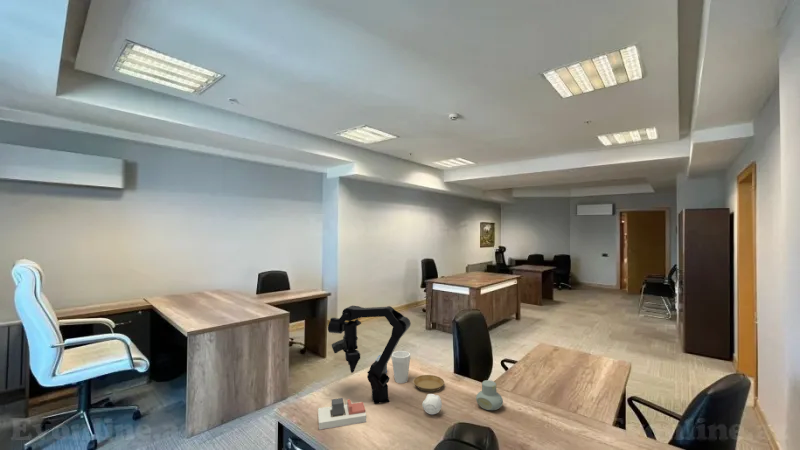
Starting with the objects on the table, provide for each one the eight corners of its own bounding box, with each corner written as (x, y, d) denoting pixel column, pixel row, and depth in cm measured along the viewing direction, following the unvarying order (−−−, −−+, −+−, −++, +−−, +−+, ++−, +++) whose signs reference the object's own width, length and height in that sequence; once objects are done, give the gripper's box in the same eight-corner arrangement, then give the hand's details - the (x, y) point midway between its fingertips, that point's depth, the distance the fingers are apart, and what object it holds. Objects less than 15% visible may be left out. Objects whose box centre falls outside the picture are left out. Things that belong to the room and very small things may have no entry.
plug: (342, 415, 136) (342, 397, 136) (343, 420, 132) (343, 403, 132) (331, 416, 135) (331, 399, 135) (332, 422, 131) (332, 404, 131)
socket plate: (361, 407, 142) (361, 401, 142) (366, 421, 131) (366, 415, 131) (318, 414, 137) (318, 408, 137) (318, 429, 126) (318, 422, 126)
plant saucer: (422, 377, 171) (422, 372, 171) (449, 384, 163) (449, 378, 163) (407, 389, 159) (407, 383, 159) (435, 397, 151) (435, 391, 151)
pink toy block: (362, 403, 140) (362, 397, 140) (365, 411, 133) (365, 404, 133) (347, 406, 138) (347, 399, 138) (349, 414, 132) (349, 407, 132)
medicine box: (383, 377, 171) (383, 360, 171) (375, 377, 172) (374, 360, 172) (387, 371, 178) (387, 355, 179) (379, 371, 179) (378, 354, 180)
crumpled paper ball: (431, 406, 142) (431, 387, 142) (445, 413, 137) (445, 393, 137) (418, 413, 137) (418, 394, 137) (433, 420, 131) (433, 401, 131)
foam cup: (396, 386, 161) (396, 358, 162) (388, 378, 169) (388, 353, 170) (414, 381, 166) (413, 355, 166) (405, 375, 174) (404, 349, 174)
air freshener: (506, 407, 141) (505, 383, 141) (497, 415, 135) (496, 390, 135) (482, 399, 148) (482, 376, 148) (473, 406, 142) (472, 382, 142)
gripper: (331, 330, 160) (331, 363, 160) (334, 342, 142) (334, 379, 142) (354, 328, 163) (354, 360, 163) (360, 339, 145) (360, 376, 145)
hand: (350, 368), depth 153 cm, fingers open, 9 cm apart
